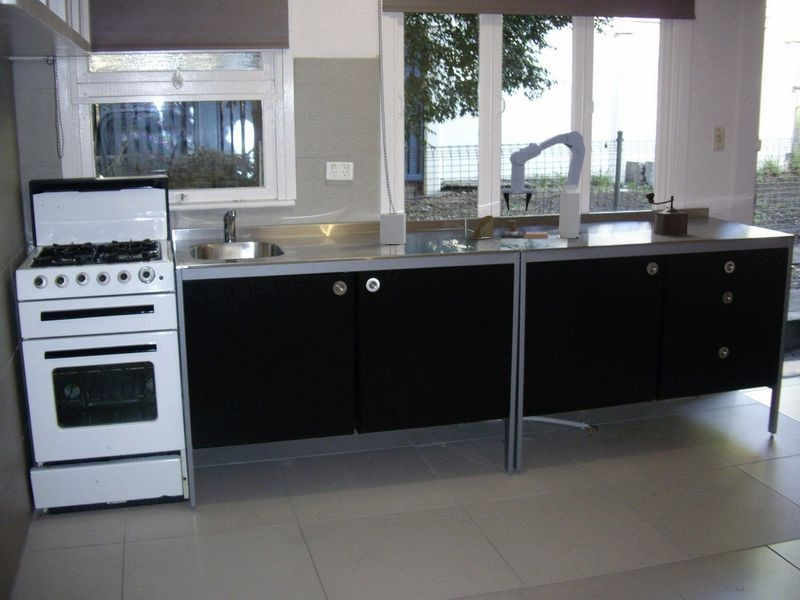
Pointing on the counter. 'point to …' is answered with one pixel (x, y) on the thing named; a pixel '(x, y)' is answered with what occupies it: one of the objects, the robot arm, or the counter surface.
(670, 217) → the manual coffee grinder
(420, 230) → the counter surface
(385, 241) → the light grey block
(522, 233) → the pad
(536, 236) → the tile
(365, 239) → the counter surface
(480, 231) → the rock
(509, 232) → the two-tone stacked blocks
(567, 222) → the milk
